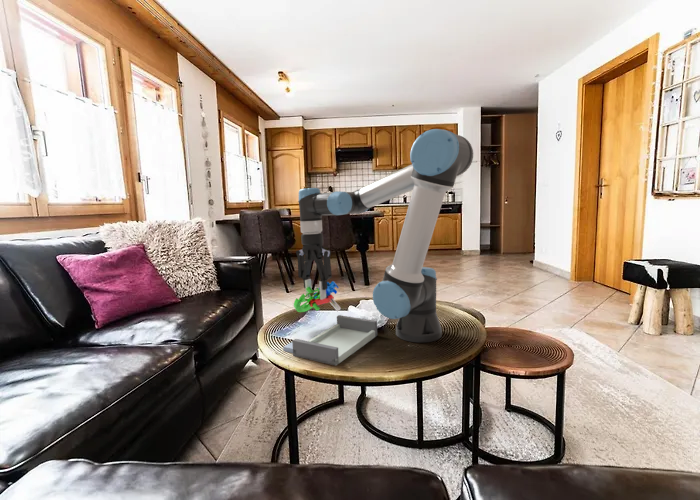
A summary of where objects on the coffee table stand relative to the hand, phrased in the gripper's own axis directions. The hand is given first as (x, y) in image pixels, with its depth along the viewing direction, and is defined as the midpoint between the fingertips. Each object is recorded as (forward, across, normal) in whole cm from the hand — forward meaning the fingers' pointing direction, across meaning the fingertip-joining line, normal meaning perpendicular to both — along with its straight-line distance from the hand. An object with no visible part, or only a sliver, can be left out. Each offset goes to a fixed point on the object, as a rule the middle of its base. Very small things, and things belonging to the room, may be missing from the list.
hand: (316, 297), depth 128 cm
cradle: (+12, -15, +10) cm, 21 cm away
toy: (+7, +2, -1) cm, 7 cm away
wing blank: (+12, -4, +18) cm, 22 cm away
